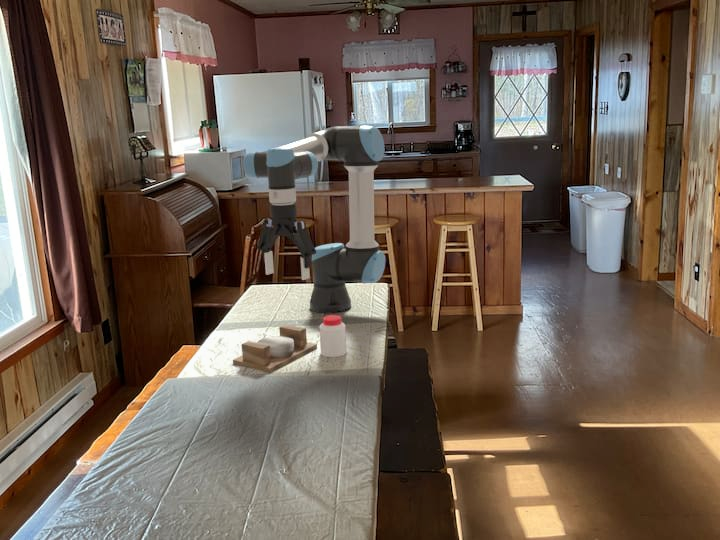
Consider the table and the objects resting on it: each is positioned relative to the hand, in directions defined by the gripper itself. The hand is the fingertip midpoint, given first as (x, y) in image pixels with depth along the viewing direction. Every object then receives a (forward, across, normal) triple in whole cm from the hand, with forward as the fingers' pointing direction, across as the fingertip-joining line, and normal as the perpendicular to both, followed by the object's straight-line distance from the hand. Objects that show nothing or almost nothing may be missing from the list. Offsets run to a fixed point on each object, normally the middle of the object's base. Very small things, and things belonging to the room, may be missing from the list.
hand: (287, 276), depth 197 cm
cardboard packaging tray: (+24, -4, -2) cm, 25 cm away
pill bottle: (+24, +10, +8) cm, 27 cm away
